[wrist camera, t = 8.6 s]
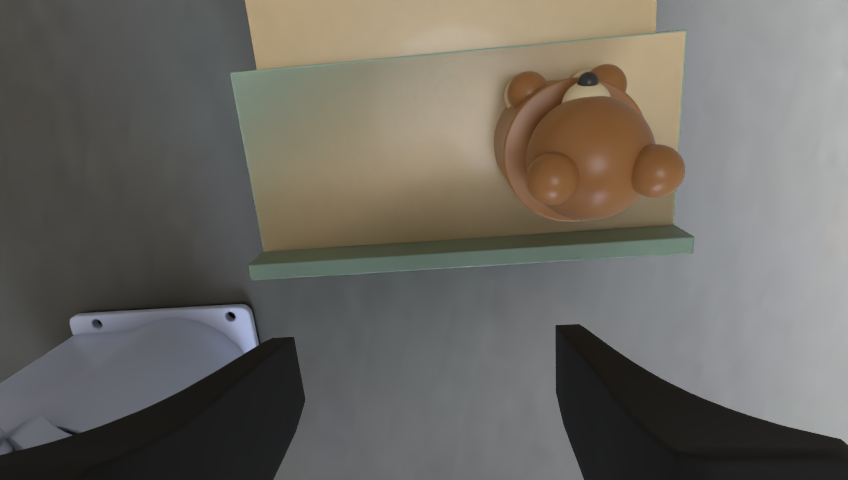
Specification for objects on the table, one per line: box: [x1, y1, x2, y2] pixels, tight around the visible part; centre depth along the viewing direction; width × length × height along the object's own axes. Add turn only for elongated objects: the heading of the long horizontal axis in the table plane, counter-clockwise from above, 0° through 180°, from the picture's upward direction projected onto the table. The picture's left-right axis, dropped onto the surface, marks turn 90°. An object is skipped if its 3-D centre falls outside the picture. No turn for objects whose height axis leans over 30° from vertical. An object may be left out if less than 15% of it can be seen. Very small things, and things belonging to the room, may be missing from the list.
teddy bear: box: [494, 64, 685, 222], centre depth 13 cm, size 4×4×6 cm
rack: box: [230, 0, 694, 280], centre depth 18 cm, size 15×14×6 cm
